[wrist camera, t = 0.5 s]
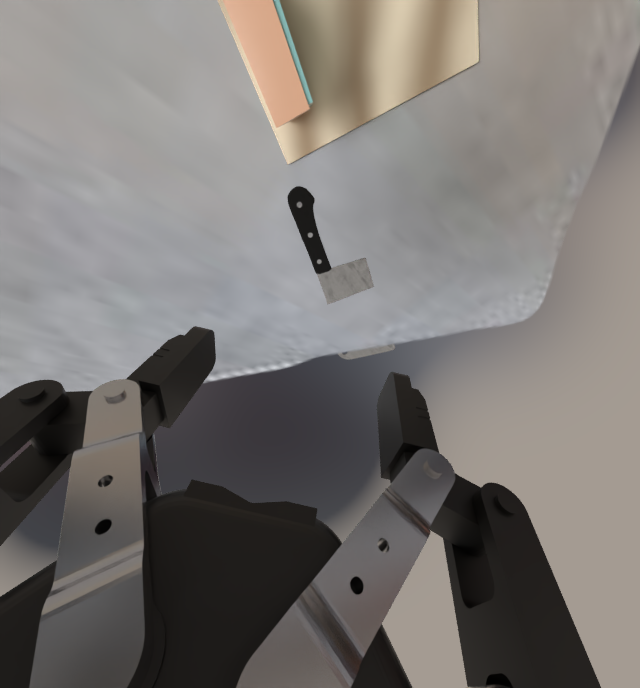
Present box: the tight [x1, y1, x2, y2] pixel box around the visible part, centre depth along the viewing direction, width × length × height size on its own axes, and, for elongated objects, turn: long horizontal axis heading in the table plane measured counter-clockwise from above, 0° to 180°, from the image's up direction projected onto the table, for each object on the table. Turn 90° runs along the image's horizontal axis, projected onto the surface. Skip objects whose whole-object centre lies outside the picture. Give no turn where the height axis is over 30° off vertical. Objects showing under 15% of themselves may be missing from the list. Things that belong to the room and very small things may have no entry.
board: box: [218, 0, 479, 164], centre depth 22 cm, size 19×14×1 cm
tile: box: [223, 0, 313, 128], centre depth 18 cm, size 2×8×13 cm, turn 24°
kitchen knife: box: [288, 187, 395, 360], centre depth 39 cm, size 29×1×10 cm
